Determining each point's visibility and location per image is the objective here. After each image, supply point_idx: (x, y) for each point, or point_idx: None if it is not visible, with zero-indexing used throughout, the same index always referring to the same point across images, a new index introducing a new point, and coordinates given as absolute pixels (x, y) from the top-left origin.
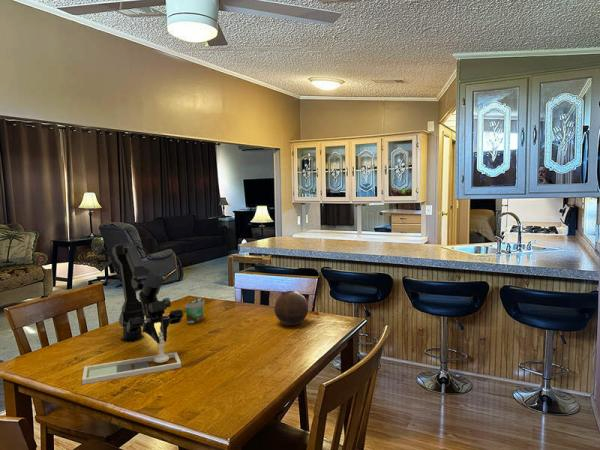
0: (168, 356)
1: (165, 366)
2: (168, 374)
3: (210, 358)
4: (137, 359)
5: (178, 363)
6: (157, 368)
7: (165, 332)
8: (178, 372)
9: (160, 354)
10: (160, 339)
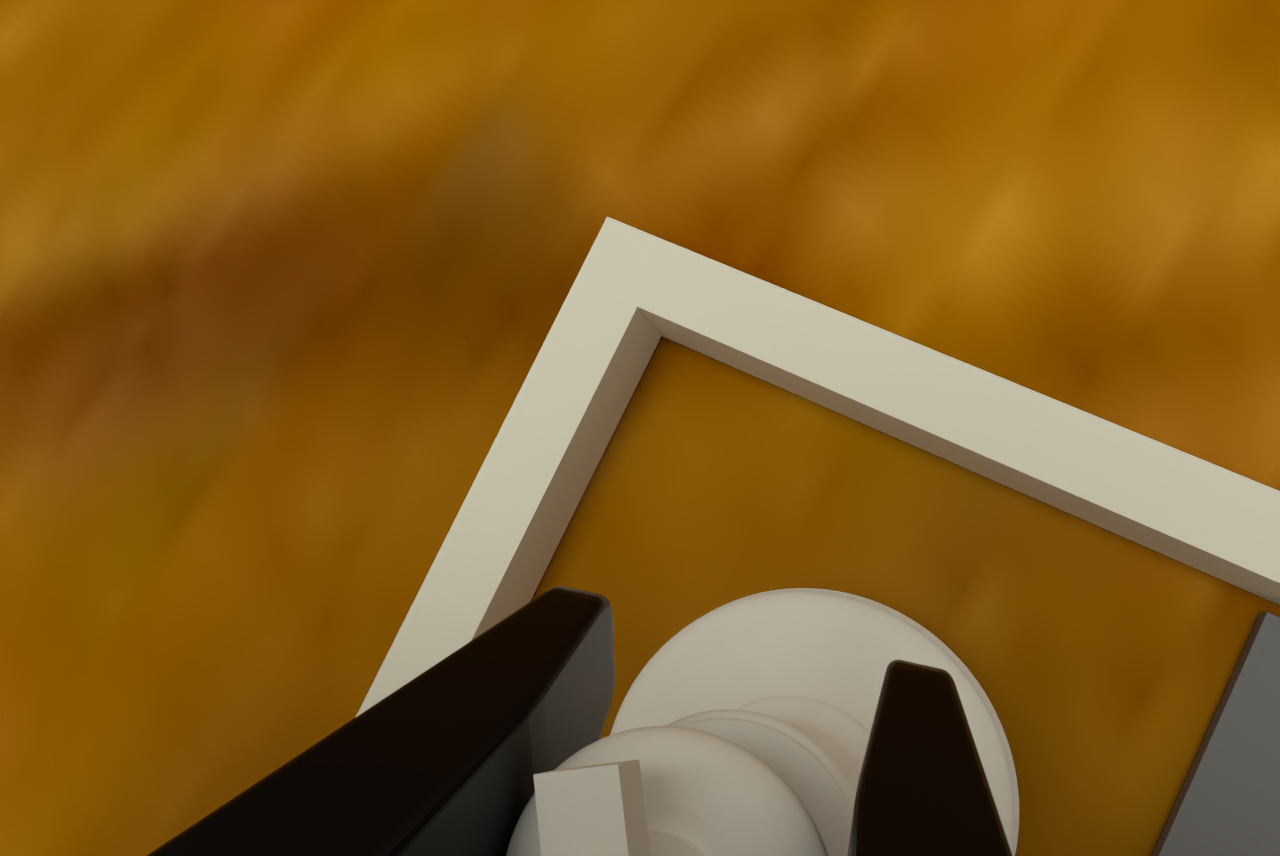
0: (626, 700)
1: (949, 361)
2: (1030, 131)
3: (21, 216)
4: None
5: (657, 241)
6: (1142, 445)
7: (303, 827)
8: (820, 73)
9: (843, 764)
10: (767, 774)
